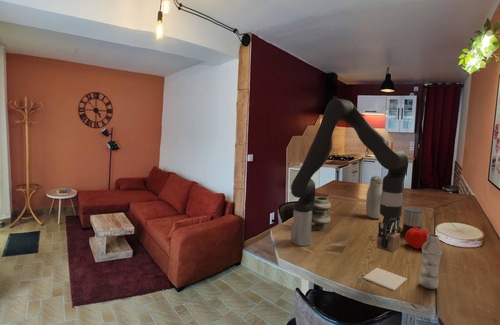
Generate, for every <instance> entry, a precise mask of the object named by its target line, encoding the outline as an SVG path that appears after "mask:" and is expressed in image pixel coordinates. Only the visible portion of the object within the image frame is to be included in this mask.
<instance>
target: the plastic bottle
mask: <svg viewBox="0 0 500 325" xmlns="http://www.w3.org/2000/svg"><path fill="white" fill-rule="evenodd" d="M439 238H440V236H439V235H438V234H433V233H429V234H428V235H427V241H426V242H425V243H424V244H423V246H422V249H421V256H422V257H421V267H420V272H419V275H418V282H419V284H420V285H421V286H422V287H424V288H425V289H429V290H435V289H437V288H438V286H439V285H440V284H439V282H440V281H439V278H440V277H439V267H440V261H441V257H442V254H443V250H442V247H441V245H440V244H439V242H440V239H439Z"/></svg>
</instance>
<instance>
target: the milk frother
mask: <svg viewBox="0 0 500 325" xmlns="http://www.w3.org/2000/svg"><path fill="white" fill-rule="evenodd" d="M403 209H404V212H403V223H402V224H403V225H402V228H401V226H399V230H398V232H397V233H399V232H400V230H401V234H402V235H403V236H405V235H406V233H407V231H408V230H409V229H413V228H414V227H417V228H419V229H420V230H421V227H422V220H423V219H422V217H423V212H424V210H423V209H422V208H419V207H413V206H405V207H403Z"/></svg>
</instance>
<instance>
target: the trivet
mask: <svg viewBox="0 0 500 325" xmlns="http://www.w3.org/2000/svg"><path fill="white" fill-rule="evenodd" d="M362 279H363V280H367V281H369V282H371V283H373V284H375V285H379V286H381V287H384V288H386V289H388V290H391V291H394V292H395V291H397V290H398V289H399V288H400V287H401V286H403V285H404V283H406V282H407V281H408V278H407V277H404V276H401V275H398V274H396V273H393V272H391V271H390V272H389V271H388V270H385V269H382V268H379V267H375V268H374V269H373V270H371V271H369V272H368V273H367V274H365V275H364V276H363V277H362Z"/></svg>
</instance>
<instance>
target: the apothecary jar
mask: <svg viewBox="0 0 500 325" xmlns="http://www.w3.org/2000/svg"><path fill="white" fill-rule="evenodd" d="M331 207H332V204H331V202H330V201H329V198H328V197H327V196H318V195H317V196H315V201H314V205H313V208H312V223H313V224H312V226H311V230H314V231H321V232H323V231H324V232H325V231H327V230H329V227H328V226H327V224H329V223H330V222H331V219H332V218H331V216H330V214H329V212H330V208H331Z"/></svg>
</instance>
